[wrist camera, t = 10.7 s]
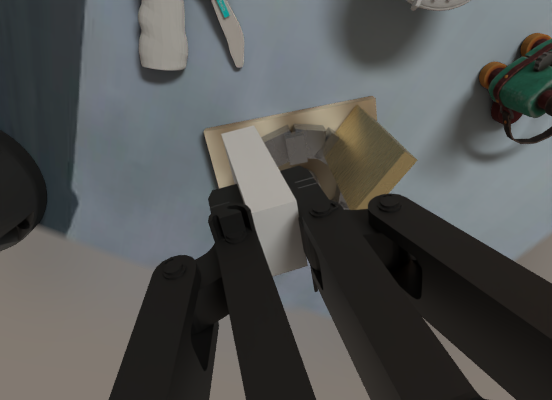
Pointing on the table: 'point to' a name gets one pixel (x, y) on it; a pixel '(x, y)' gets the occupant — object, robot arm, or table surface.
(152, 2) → the garden hose nozzle
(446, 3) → the showerhead
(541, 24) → the table surface
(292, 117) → the base
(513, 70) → the binoculars
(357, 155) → the block ring with board
